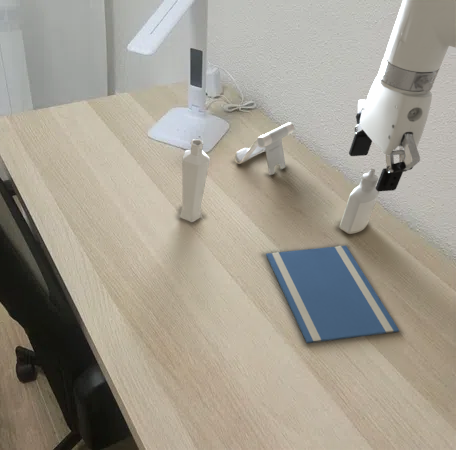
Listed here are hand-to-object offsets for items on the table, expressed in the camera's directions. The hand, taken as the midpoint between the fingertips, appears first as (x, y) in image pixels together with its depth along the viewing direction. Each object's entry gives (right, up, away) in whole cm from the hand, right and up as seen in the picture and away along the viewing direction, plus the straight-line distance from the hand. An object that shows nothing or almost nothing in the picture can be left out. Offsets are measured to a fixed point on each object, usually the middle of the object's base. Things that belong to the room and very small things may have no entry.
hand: (370, 171), depth 89 cm
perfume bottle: (-29, -7, +9) cm, 31 cm away
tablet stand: (-13, +4, +22) cm, 26 cm away
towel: (-8, -19, -5) cm, 21 cm away
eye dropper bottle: (0, -9, +7) cm, 12 cm away
